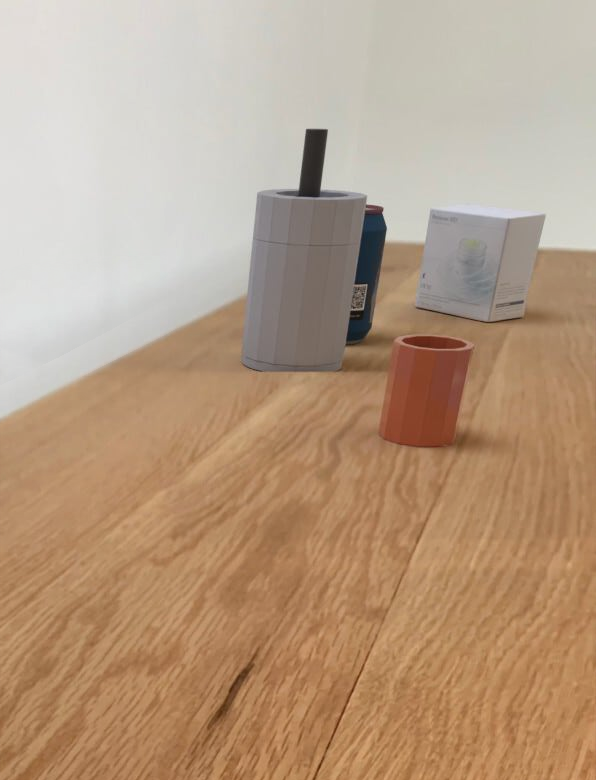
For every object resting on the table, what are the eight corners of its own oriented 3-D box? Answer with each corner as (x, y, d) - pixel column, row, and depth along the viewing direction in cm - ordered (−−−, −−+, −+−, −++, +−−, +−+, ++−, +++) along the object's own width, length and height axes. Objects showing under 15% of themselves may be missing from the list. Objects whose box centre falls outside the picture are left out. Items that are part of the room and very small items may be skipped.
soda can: (287, 332, 113) (303, 202, 107) (349, 330, 114) (368, 202, 108) (316, 347, 107) (335, 210, 101) (382, 344, 109) (404, 209, 102)
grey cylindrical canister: (326, 353, 105) (349, 189, 98) (353, 375, 97) (380, 199, 90) (232, 353, 105) (248, 188, 97) (252, 375, 97) (271, 198, 90)
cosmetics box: (410, 307, 126) (428, 205, 120) (449, 302, 129) (467, 202, 123) (486, 323, 118) (509, 215, 113) (525, 317, 121) (549, 212, 116)
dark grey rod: (302, 350, 102) (330, 128, 93) (311, 358, 99) (341, 130, 90) (268, 350, 102) (293, 128, 93) (276, 358, 99) (302, 129, 90)
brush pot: (437, 432, 82) (457, 334, 79) (464, 453, 78) (485, 350, 74) (369, 433, 82) (385, 334, 78) (391, 453, 77) (409, 350, 74)
